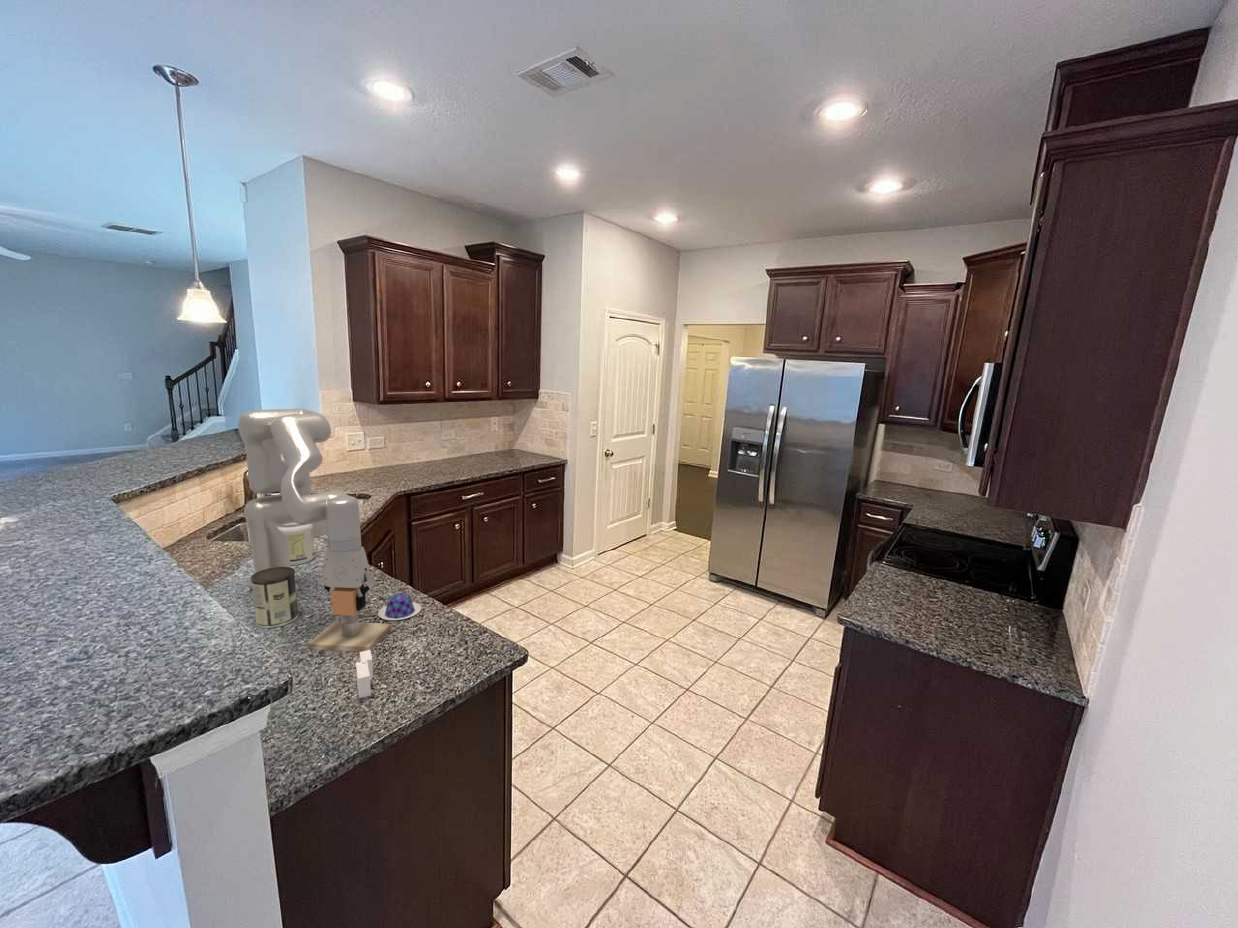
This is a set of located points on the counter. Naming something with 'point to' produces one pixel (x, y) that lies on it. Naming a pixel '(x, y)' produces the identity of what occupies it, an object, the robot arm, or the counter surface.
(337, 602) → the orange block
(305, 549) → the supplement tub
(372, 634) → the post stand
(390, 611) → the pudding
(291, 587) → the coffee can
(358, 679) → the white stepped block
